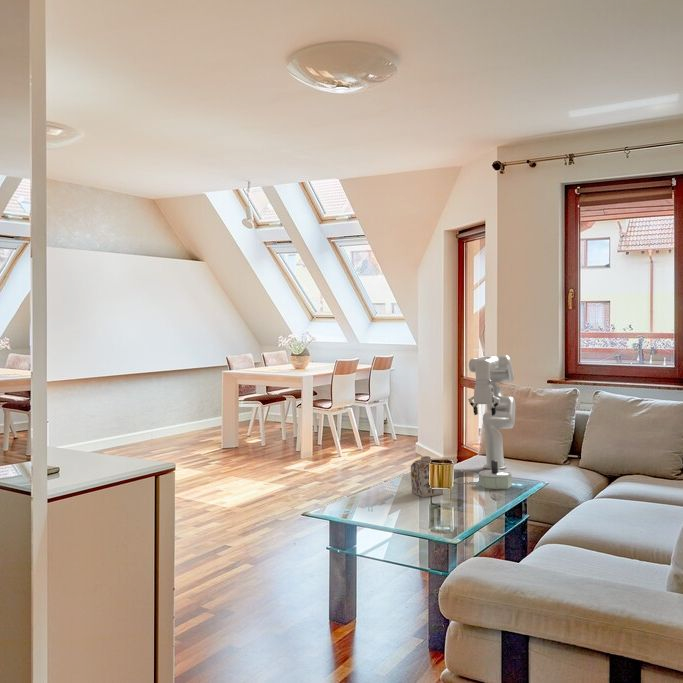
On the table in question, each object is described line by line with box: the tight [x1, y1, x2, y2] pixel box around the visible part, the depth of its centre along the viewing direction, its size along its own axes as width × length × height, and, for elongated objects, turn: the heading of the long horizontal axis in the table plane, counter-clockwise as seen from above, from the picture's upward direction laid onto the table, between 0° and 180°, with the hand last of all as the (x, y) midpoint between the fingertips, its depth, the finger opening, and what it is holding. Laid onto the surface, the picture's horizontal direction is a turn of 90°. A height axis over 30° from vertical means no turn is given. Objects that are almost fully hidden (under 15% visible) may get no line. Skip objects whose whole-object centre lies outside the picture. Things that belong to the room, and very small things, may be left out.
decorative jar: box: [410, 455, 444, 498], centre depth 330 cm, size 12×12×18 cm
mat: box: [455, 481, 479, 486], centre depth 352 cm, size 17×17×1 cm
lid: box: [478, 460, 512, 478], centre depth 338 cm, size 16×16×7 cm
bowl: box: [478, 474, 513, 490], centre depth 338 cm, size 15×15×6 cm
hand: (484, 414), depth 359 cm, fingers open, 9 cm apart
